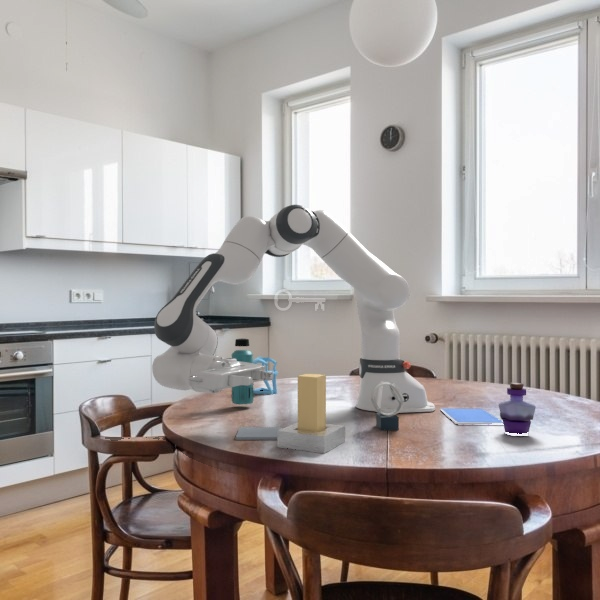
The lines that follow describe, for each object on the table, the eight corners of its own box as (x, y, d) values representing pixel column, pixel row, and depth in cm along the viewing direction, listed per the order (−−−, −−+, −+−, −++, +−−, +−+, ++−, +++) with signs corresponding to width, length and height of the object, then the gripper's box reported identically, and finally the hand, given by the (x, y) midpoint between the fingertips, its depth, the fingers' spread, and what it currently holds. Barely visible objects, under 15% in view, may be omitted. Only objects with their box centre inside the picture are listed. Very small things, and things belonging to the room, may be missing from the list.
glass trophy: (406, 430, 139) (406, 384, 139) (373, 430, 138) (373, 384, 138) (400, 424, 144) (400, 381, 144) (369, 425, 144) (369, 381, 144)
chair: (268, 395, 188) (268, 359, 188) (247, 393, 192) (248, 357, 192) (281, 392, 194) (281, 357, 194) (261, 390, 199) (261, 355, 199)
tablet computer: (439, 412, 163) (439, 407, 163) (483, 412, 163) (483, 407, 163) (456, 427, 144) (456, 422, 144) (506, 428, 144) (506, 422, 144)
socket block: (300, 436, 133) (300, 420, 133) (344, 441, 128) (344, 425, 128) (277, 447, 123) (277, 430, 123) (324, 453, 118) (324, 436, 118)
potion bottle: (504, 428, 141) (504, 379, 141) (541, 433, 135) (541, 382, 135) (491, 435, 134) (491, 383, 134) (529, 440, 128) (529, 386, 128)
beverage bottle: (250, 410, 163) (250, 339, 163) (227, 409, 165) (227, 339, 165) (256, 405, 170) (256, 338, 170) (235, 405, 171) (235, 337, 171)
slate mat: (281, 429, 139) (281, 427, 139) (280, 439, 129) (280, 437, 129) (239, 429, 139) (239, 427, 139) (235, 439, 129) (235, 437, 129)
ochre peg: (306, 440, 128) (307, 373, 128) (325, 443, 126) (325, 374, 126) (297, 445, 124) (297, 376, 124) (316, 448, 122) (317, 377, 122)
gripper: (184, 365, 128) (236, 369, 121) (235, 357, 146) (283, 361, 140) (183, 393, 128) (236, 399, 121) (234, 382, 146) (282, 387, 140)
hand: (261, 378), depth 131 cm, fingers open, 8 cm apart
